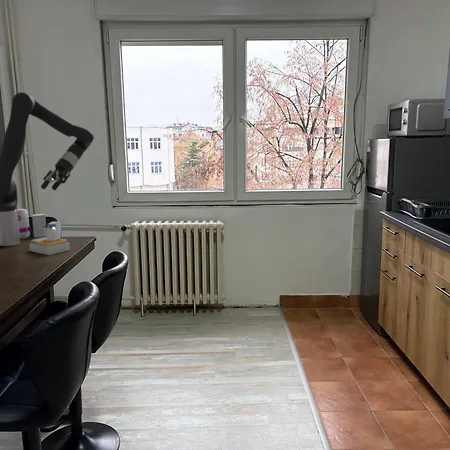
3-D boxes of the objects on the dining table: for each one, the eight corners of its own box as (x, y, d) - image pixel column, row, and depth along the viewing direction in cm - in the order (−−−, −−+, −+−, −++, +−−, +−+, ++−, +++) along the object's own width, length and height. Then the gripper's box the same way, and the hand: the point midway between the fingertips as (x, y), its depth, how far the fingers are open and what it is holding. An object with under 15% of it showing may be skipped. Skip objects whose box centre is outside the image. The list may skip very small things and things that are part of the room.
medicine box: (53, 237, 227) (52, 221, 226) (61, 237, 227) (60, 221, 226) (48, 240, 219) (47, 224, 218) (57, 240, 220) (55, 223, 218)
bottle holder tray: (30, 250, 198) (29, 240, 197) (51, 246, 207) (50, 236, 206) (48, 255, 189) (47, 244, 188) (70, 250, 198) (69, 239, 197)
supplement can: (22, 238, 224) (19, 211, 221) (9, 238, 226) (6, 210, 224) (33, 235, 231) (30, 208, 229) (21, 234, 234) (18, 208, 231)
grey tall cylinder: (45, 251, 196) (43, 225, 194) (54, 249, 200) (51, 223, 198) (51, 252, 194) (48, 226, 192) (59, 250, 198) (57, 224, 195)
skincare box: (35, 237, 226) (32, 215, 224) (33, 236, 229) (31, 214, 227) (47, 236, 229) (45, 214, 227) (45, 235, 233) (43, 213, 231)
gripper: (52, 157, 206) (33, 182, 199) (71, 157, 198) (51, 184, 191) (63, 168, 211) (44, 193, 204) (81, 168, 203) (62, 194, 196)
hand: (47, 188), depth 197 cm, fingers open, 8 cm apart
